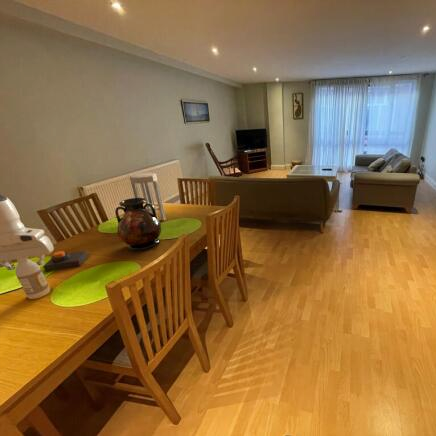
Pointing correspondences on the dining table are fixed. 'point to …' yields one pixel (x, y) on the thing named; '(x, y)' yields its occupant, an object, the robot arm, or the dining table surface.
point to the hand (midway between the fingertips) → (26, 266)
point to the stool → (148, 191)
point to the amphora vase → (138, 225)
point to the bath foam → (31, 279)
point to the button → (59, 254)
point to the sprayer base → (66, 261)
